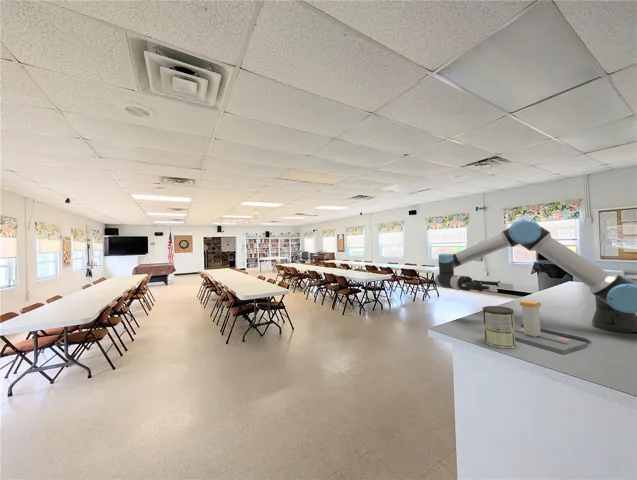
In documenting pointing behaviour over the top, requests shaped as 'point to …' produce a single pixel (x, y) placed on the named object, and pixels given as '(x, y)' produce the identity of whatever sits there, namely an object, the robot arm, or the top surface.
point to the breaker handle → (531, 318)
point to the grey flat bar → (564, 335)
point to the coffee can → (499, 326)
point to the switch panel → (549, 341)
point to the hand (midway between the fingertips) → (504, 287)
